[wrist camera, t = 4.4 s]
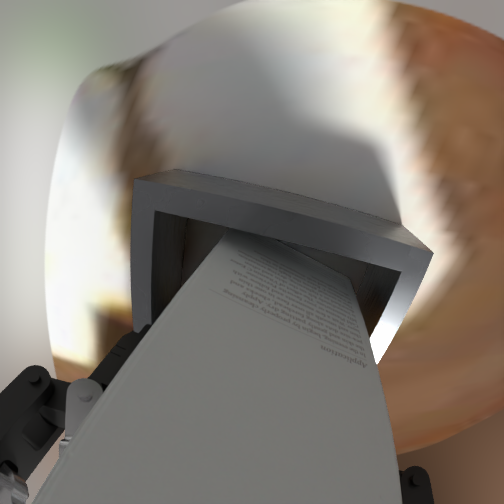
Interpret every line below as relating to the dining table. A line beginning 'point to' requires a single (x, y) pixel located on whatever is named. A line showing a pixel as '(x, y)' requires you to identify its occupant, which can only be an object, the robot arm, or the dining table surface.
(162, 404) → the small box
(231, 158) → the dining table surface
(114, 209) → the dining table surface
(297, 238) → the socket
